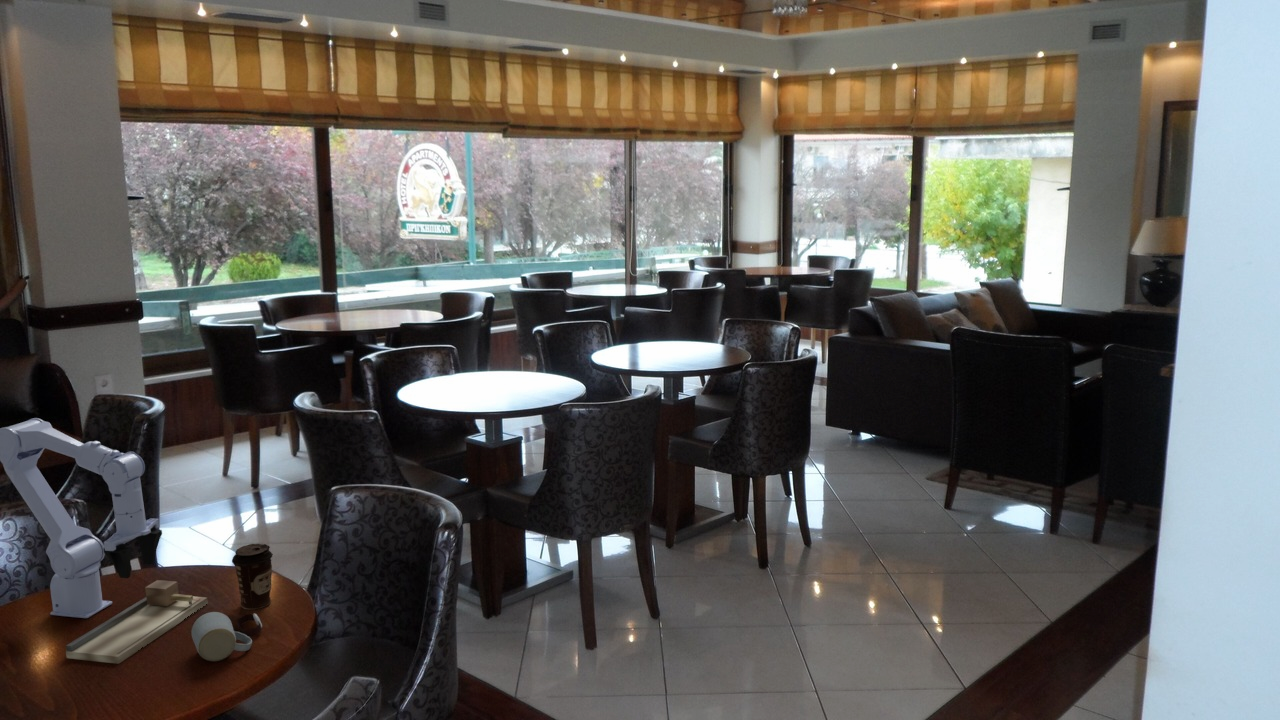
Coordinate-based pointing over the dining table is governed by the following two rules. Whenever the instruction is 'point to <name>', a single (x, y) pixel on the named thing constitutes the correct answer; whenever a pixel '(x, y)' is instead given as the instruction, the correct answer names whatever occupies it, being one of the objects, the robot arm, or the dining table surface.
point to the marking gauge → (165, 593)
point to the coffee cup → (254, 575)
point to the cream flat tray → (130, 630)
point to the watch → (248, 618)
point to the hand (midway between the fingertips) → (137, 570)
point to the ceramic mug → (217, 637)
